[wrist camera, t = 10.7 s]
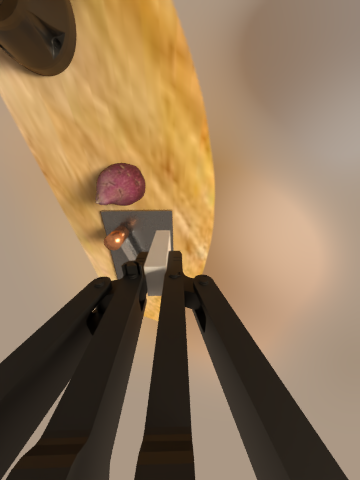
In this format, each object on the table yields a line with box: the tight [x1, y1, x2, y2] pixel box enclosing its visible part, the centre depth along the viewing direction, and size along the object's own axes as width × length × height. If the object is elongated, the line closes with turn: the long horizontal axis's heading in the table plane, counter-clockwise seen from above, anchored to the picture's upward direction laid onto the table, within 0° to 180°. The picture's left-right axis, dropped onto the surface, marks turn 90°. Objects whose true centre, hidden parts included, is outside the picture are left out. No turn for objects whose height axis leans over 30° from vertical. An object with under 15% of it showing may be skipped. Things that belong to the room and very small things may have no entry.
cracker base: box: [101, 210, 173, 279], centre depth 43 cm, size 25×20×7 cm
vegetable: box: [96, 163, 145, 205], centre depth 33 cm, size 10×10×15 cm
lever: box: [104, 226, 137, 261], centre depth 41 cm, size 22×5×7 cm, turn 19°
